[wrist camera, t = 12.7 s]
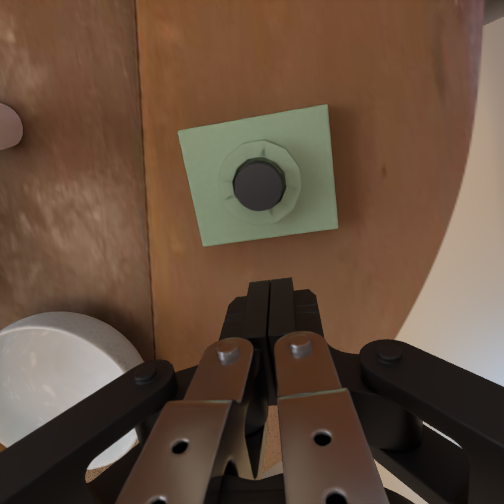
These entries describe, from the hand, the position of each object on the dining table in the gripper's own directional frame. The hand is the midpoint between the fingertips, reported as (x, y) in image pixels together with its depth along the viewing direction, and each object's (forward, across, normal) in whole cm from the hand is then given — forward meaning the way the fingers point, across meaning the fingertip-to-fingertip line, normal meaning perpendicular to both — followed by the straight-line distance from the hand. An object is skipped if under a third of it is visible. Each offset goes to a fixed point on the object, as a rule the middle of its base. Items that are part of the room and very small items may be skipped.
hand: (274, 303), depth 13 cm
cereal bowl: (+21, +23, +15) cm, 35 cm away
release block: (+21, +1, -2) cm, 21 cm away
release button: (+17, +1, -2) cm, 17 cm away
